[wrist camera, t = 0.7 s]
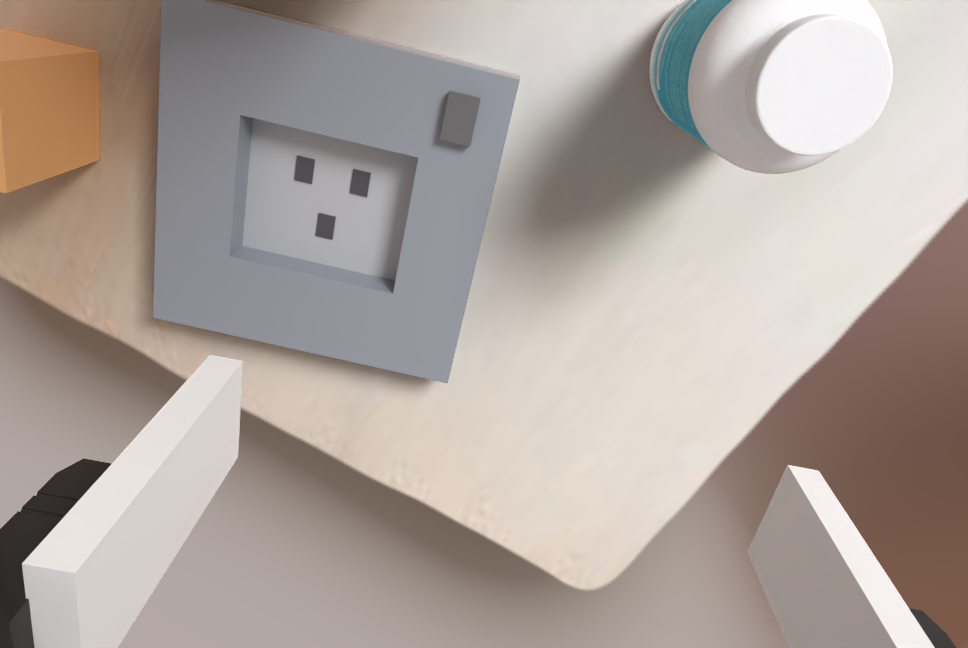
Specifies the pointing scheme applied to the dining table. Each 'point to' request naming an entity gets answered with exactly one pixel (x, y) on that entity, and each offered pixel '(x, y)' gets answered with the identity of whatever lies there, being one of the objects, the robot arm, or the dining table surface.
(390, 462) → the dining table surface
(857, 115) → the pill bottle
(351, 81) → the socket plate
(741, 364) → the dining table surface
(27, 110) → the plug
